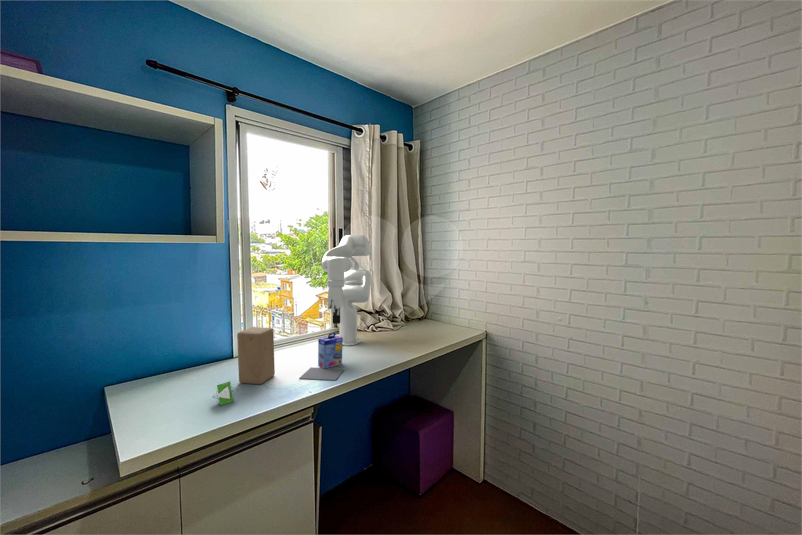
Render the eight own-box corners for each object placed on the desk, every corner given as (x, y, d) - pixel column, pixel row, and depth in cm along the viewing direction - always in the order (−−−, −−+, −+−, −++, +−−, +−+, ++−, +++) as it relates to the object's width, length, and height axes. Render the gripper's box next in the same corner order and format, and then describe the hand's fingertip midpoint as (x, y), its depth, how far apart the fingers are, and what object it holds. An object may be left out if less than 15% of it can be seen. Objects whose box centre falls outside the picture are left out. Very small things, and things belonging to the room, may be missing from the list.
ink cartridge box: (324, 369, 144) (324, 335, 144) (317, 366, 148) (317, 333, 148) (343, 363, 152) (343, 331, 152) (335, 361, 156) (335, 330, 155)
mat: (310, 368, 147) (310, 367, 147) (344, 369, 145) (344, 368, 145) (299, 379, 135) (299, 378, 135) (335, 380, 133) (335, 379, 133)
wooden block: (261, 385, 129) (259, 333, 128) (237, 383, 131) (235, 332, 130) (275, 375, 139) (274, 327, 138) (254, 373, 141) (252, 326, 140)
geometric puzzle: (208, 395, 116) (213, 380, 112) (229, 388, 121) (234, 374, 118) (215, 412, 113) (220, 398, 109) (236, 405, 118) (242, 391, 114)
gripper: (333, 282, 165) (333, 320, 166) (322, 285, 151) (323, 326, 151) (348, 282, 165) (348, 320, 165) (339, 285, 150) (339, 326, 150)
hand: (336, 323), depth 158 cm, fingers closed
